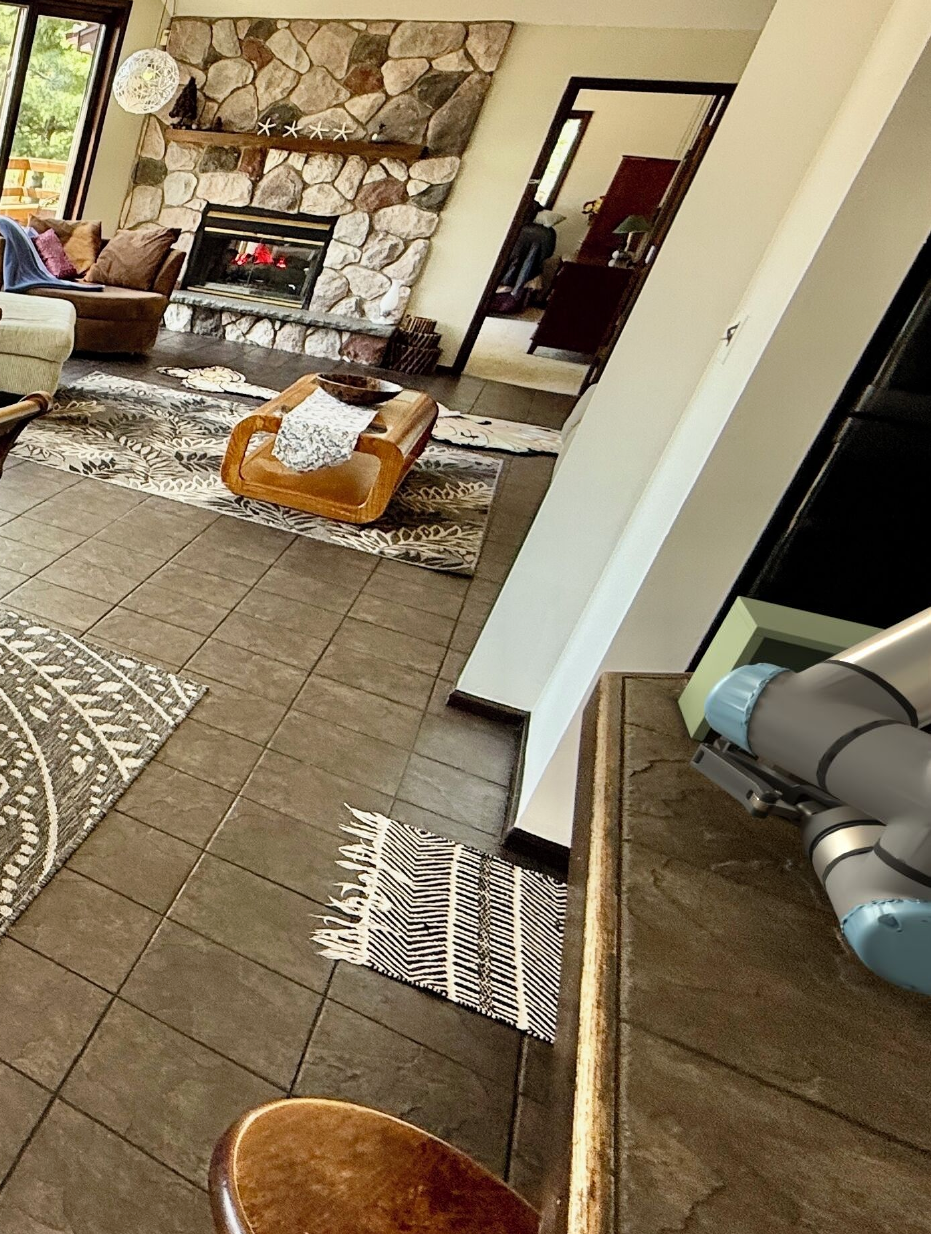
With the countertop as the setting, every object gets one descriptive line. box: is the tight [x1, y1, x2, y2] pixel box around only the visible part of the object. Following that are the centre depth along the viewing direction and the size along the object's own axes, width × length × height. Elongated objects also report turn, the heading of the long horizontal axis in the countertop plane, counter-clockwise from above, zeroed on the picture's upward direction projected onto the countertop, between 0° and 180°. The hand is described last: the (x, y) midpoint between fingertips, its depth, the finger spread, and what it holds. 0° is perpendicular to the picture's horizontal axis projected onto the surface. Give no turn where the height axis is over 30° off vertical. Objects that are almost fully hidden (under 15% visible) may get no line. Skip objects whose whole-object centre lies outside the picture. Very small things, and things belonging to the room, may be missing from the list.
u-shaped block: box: [677, 595, 885, 742], centre depth 114 cm, size 13×12×15 cm
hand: (817, 762), depth 102 cm, fingers open, 13 cm apart
